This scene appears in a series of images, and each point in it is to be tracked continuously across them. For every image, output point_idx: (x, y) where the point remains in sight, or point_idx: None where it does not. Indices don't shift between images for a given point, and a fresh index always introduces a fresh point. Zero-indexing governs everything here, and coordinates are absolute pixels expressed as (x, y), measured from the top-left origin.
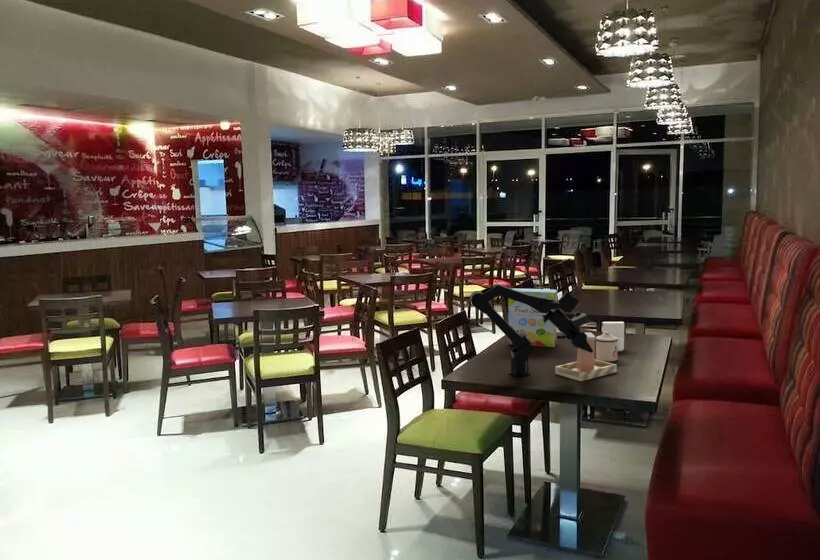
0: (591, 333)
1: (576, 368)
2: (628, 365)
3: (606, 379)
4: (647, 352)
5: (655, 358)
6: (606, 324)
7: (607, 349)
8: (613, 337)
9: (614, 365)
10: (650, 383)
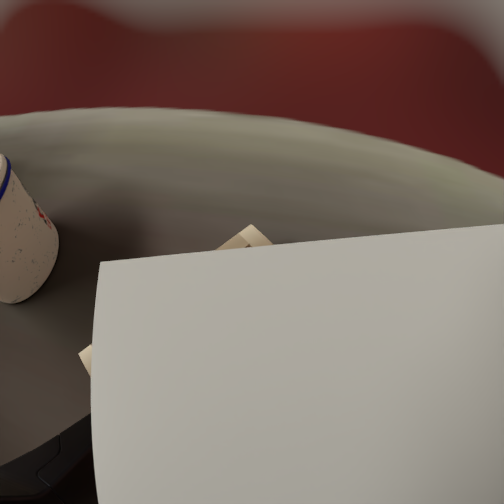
0: (212, 266)
1: None
2: (135, 188)
3: None
4: (21, 140)
5: (80, 120)
6: None
7: (22, 228)
8: None
9: (264, 237)
10: (414, 159)
